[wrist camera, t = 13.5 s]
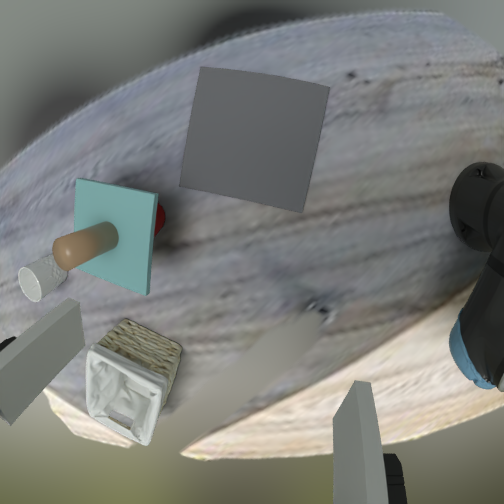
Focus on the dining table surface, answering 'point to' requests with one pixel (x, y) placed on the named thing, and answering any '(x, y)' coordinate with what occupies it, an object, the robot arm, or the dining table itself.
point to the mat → (253, 136)
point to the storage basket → (130, 378)
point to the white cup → (41, 278)
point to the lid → (111, 234)
